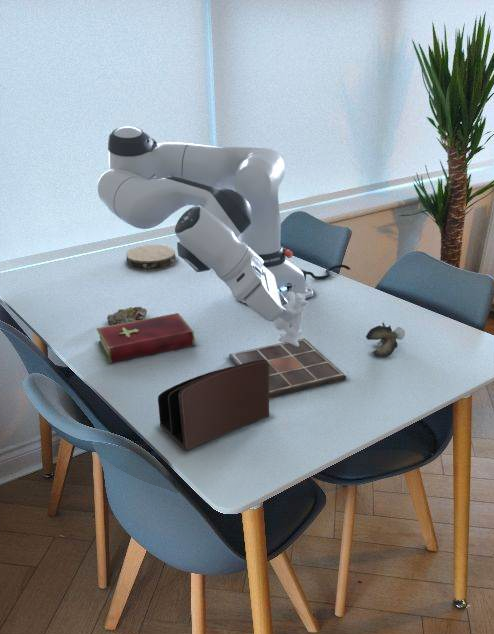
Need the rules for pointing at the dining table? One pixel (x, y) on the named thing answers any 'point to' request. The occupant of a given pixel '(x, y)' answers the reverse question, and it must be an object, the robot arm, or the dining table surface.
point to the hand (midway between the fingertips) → (288, 312)
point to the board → (292, 367)
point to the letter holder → (215, 403)
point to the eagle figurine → (385, 339)
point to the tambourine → (150, 257)
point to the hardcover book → (145, 337)
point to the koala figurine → (292, 327)
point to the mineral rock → (127, 315)
